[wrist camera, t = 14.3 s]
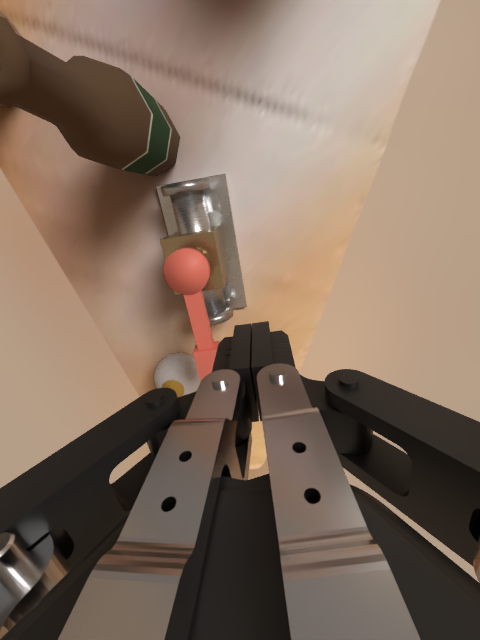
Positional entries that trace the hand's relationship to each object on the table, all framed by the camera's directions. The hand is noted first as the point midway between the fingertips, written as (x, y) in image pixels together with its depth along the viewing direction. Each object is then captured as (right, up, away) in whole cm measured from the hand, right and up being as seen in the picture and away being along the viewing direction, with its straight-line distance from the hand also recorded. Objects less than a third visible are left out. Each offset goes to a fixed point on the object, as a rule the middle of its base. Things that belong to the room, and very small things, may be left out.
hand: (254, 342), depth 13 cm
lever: (-5, +2, +19) cm, 20 cm away
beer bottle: (-12, +23, +22) cm, 34 cm away
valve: (-6, +11, +27) cm, 30 cm away
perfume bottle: (-10, -8, +36) cm, 38 cm away
